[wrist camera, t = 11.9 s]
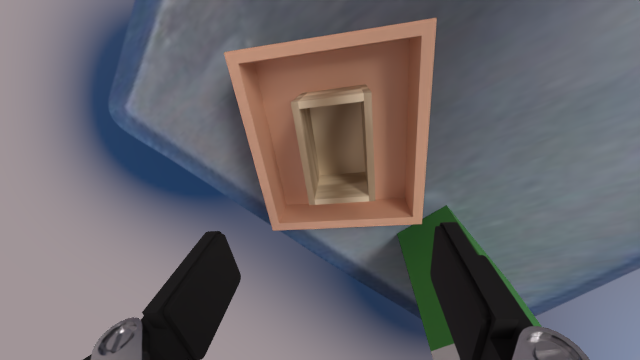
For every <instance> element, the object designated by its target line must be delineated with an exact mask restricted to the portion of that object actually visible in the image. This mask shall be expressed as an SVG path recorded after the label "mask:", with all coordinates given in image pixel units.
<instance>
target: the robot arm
mask: <svg viewBox="0 0 640 360" xmlns="http://www.w3.org/2000/svg"><path fill="white" fill-rule="evenodd" d="M430 276H431V281H432V284H433V287H434V289H435V292H436V295H437V297H438V300H439V303H440V306H441V308H442V311H443V314H444V317H445V319H446V322H447V325H448V328H449V330H450V333H451V336H452V339H453V341H454V344H455V347H456V349H457V352H458V355H459V358H460V360H589V358H588V357H587V355H586V354H585V353H584V352H583V351H582V350H581V349H580V348H579V347H578V346H577V345H576V344H575V343H573V342H572V341H571V340H570V339H568V338H567V337H565V336H563V335H562V334H560V333H558V332H556V331H553V330H551V329H548V328H544V327H539V326H533V324H532V323H531V321H530V320H529V318H528V317H527V316H526V314H525V313H524V311H523V310H522V308H521V307H520V305H519V304H518V302H517V301H516V299H515V298H514V296H513V295H512V293H511V292H510V291H509V289H508V288H507V286H506V285H505V283H504V282H503V280H502V279H501V277H500V276H499V274H498V273H497V271H496V270H495V268H494V267H493V265H492V264H491V263H490V261H489V260H488V259H487V257H486V256H484V255H478V254H477V252H476V251H475V249H474V248H473V246H472V245H471V243H470V242H469V240H468V238H467V237H466V235H465V234H464V232H463V231H462V229H461V228H460V226H459V225H458V223H457V222H441V223H440V225H439V226H436V227H435V232H434V242H433V251H432V260H431V270H430ZM240 279H241V275H240V272H239V269H238V267H237V264H236V262H235V259H234V257H233V254H232V252H231V250H230V247H229V244H228V242H227V240H226V237H225V235H224V234H222V233H221V232H220V231H211V232H206V233H205V234H204V235H203V236H202V238H201V239H200V240H199V242H198V243H197V244H196V245H195V246H194V248H193V249H192V250H191V252H190V253H189V254H188V255H187V257H186V258H185V259H184V260H183V262H182V263H181V264H180V265H179V267H178V268H177V269H176V270H175V272H174V273H173V274H172V275H171V277H170V278H169V279H168V281H167V282H166V283H165V284H164V285H163V287H162V288H161V289H160V291H159V292H158V293H157V294H156V296H155V297H154V298H153V299H152V301H151V302H150V303H149V304H148V306H147V307H146V308H145V310H144V311H143V312H142V313H143V315H144V317H143V318H142V319H141V320H140V319H139V318H134V317H133V318H128V319H125V320H123V321H120V322H119V323H117V324H115V325H114V326H112V327H111V328H110V329H109V330H107V331H106V332H105V333H104V334H103V335H102V336H101V337H100V338H99V340H98V341H97V343H96V344H95V346H94V349H93V351H92V354H91V355H90V356H88V357H86V358H85V359H83V360H200V359H202V358H203V357H204V356H205V354H206V352H207V350H208V348H209V345H210V344H211V341H212V340H213V337H214V335H215V333H216V331H217V329H218V327H219V325H220V323H221V321H222V318H223V316H224V314H225V312H226V310H227V308H228V306H229V304H230V302H231V299H232V297H233V295H234V293H235V291H236V289H237V287H238V285H239V282H240Z"/></svg>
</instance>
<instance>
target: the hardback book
mask: <svg viewBox="0 0 640 360" xmlns="http://www.w3.org/2000/svg"><path fill="white" fill-rule="evenodd" d="M441 222H457V223H458V225H459V226H460V228H461V229H462V231H463V232H464V234H465V235H466V237H467V238H468V240H469V242H470V243H471V245H472V246H473V248H474V249H475V251H476V252H477V254H478V255H484V256H486V257H487V259H488V260H489V261H490V263H491V264H492V265H493V267H494V268H495V270H496V271H497V273H498V274H499V276H500V277H501V279H502V280H503V282H504V283H505V285H506V286H507V288H508V289H509V291H510V292H511V293H512V295H513V296H514V298H515V299H516V301H517V302H518V304H519V305H520V307H521V308H522V310H523V311H524V313H525V314H526V316H527V317H528V318H529V320H530V321H531V323H532V324H533V326H539V327H542V326H541V325H540V324H539V322H538V321H537V319H536V318H535V317H534V315H533V314H532V312H531V311H530V310H529V308H528V307H527V306H526V304H525V303H524V301H523V300H522V299H521V297H520V296H519V295H518V293H517V292H516V290H515V289H514V288H513V286H512V285H511V283H510V282H509V281H508V280H507V279H506V277H505V276H504V275H503V274H502V272H501V271H500V270H499V269H498V268H497V266H496V265H495V264H494V263H493V261H492V260H491V259H490V258H489V257H488V255H487V254H486V253H485V252H484V250H483V249H482V248H481V247H480V246H479V244H478V243H477V242H476V241H475V240H474V238H473V237H472V236H471V235H470V233H469V232H468V231H467V230H466V229H465V227H464V226H463V225H462V224H461V222H460V221H459V220H458V219H457V218H456V216H455V215H454V214H453V213H452V211H451V210H450V209H449V208H448V207H447V205H446V206H444V207H443V208H441V209H439V210H437V211H436V212H434V213H432V214H431V215H429V216H427V217H425V218H424V219H422V224H413V225H411V226H410V227H408V228H406V229H405V230H403V231H401V232H399V233H398V234H397V235H398V239H399V242H400V245H401V249H402V252H403V256H404V259H405V263H406V266H407V270H408V273H409V277H410V280H411V284H412V287H413V291H414V294H415V298H416V301H417V305H418V308H419V312H420V315H421V319H422V322H423V326H424V329H425V332H426V336H427V339H428V343H429V346H430V350H431V353H432V357H433V360H460V358H459V355H458V352H457V349H456V347H455V344H454V341H453V339H452V336H451V333H450V330H449V328H448V325H447V322H446V319H445V317H444V314H443V311H442V308H441V306H440V303H439V300H438V297H437V295H436V292H435V289H434V287H433V284H432V281H431V276H430V270H431V260H432V251H433V242H434V232H435V227H436V226H439V225H440V223H441Z"/></svg>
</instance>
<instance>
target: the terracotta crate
mask: <svg viewBox="0 0 640 360" xmlns="http://www.w3.org/2000/svg"><path fill="white" fill-rule="evenodd" d="M436 22H437V18H431V19H425V20H419V21H413V22H407V23H401V24H394V25H388V26H382V27H376V28H370V29H364V30H358V31H351V32H345V33H339V34H333V35H327V36H321V37H315V38H308V39H302V40H296V41H290V42H284V43H278V44H271V45H265V46H259V47H253V48H247V49H241V50H235V51H228V52H224V55H225V59H226V62H227V66H228V70H229V73H230V77H231V80H232V84H233V88H234V91H235V95H236V99H237V102H238V106H239V109H240V113H241V117H242V120H243V124H244V128H245V131H246V135H247V138H248V142H249V146H250V149H251V153H252V157H253V160H254V164H255V167H256V171H257V175H258V178H259V182H260V186H261V189H262V193H263V196H264V200H265V204H266V207H267V211H268V215H269V218H270V222H271V225H272V229H273V231H275V230H299V229H322V228H345V227H368V226H390V225H413V224H422V216H423V202H424V189H425V175H426V161H427V147H428V133H429V119H430V105H431V92H432V78H433V64H434V50H435V36H436ZM364 84H366V85H367V87H368V88H369V89H370V91H371V93H372V120H373V147H374V174H375V201H368V202H351V203H335V204H319V205H309V200H308V194H307V189H306V183H305V178H304V173H303V167H302V162H301V156H300V151H299V145H298V140H297V134H296V129H295V123H294V118H293V113H292V107H291V102H292V101H293V100H294V99H296V98H297V97H298V96H299V95H300V94H302V93H304V92H312V91H319V90H327V89H334V88H342V87H349V86H357V85H364Z"/></svg>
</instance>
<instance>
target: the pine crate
mask: <svg viewBox="0 0 640 360" xmlns="http://www.w3.org/2000/svg"><path fill="white" fill-rule="evenodd" d="M291 107H292V113H293V118H294V123H295V129H296V134H297V140H298V145H299V151H300V156H301V162H302V167H303V173H304V178H305V183H306V189H307V194H308V200H309V205H319V204H335V203H351V202H368V201H375V174H374V147H373V120H372V93H371V91H370V89H369V88H368V87H367V85H366V84H364V85H357V86H349V87H342V88H334V89H327V90H319V91H312V92H304V93H302V94H300V95H299V96H298V97H297V98H296V99H294V100H293V101H292V102H291Z"/></svg>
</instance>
